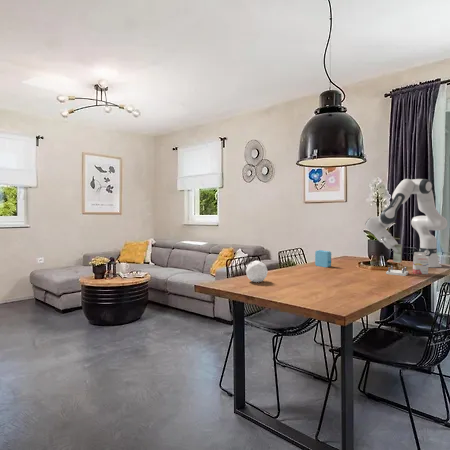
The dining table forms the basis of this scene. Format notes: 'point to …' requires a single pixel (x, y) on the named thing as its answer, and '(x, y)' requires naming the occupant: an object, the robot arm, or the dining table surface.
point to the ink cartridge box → (420, 263)
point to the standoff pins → (392, 269)
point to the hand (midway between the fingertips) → (398, 251)
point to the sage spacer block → (398, 253)
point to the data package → (323, 258)
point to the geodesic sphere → (256, 271)
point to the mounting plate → (397, 272)
